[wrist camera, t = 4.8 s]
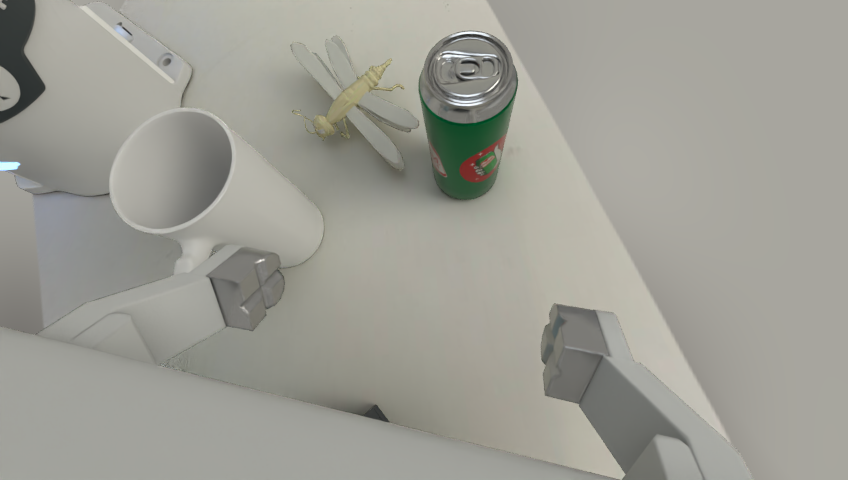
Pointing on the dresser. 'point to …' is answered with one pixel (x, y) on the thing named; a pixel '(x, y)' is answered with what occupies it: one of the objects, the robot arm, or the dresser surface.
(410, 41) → the dresser surface
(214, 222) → the mug
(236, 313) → the robot arm
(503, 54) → the soda can
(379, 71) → the toy
